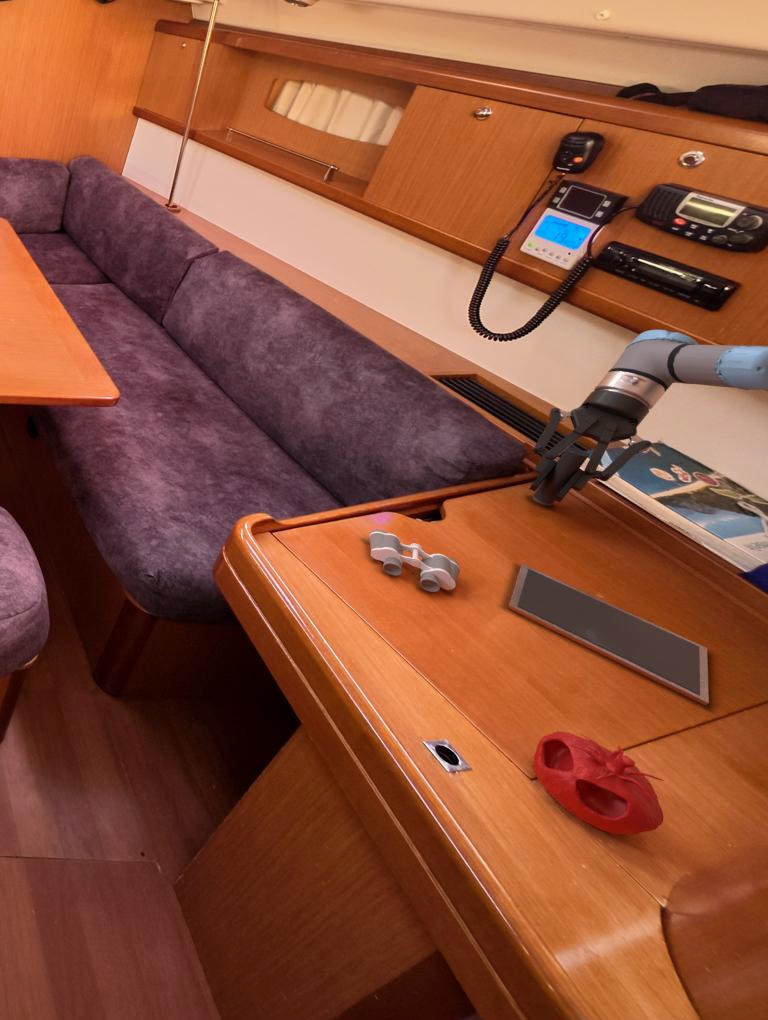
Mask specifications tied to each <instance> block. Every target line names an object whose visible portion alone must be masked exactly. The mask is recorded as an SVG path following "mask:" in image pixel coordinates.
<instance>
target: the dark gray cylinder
mask: <svg viewBox="0 0 768 1020" xmlns="http://www.w3.org/2000/svg"><path fill="white" fill-rule="evenodd" d="M589 456H590V455H589V453H588V452H586V451H585V450H583V449H580V448H577V447H573V446H570V447H568V448H567V449H566V450H565V451H564V452H563V453H562V454H561V455H560V456H559V459H558V460H557V461H558V462H557V463H556V464H555V466H554V467H553V469H552V470H551V471H550V473H549V474H548V476H547V477H546V478H545V479H544V481H543V482H542V483H541V484H540V486H539V487H538V488H537V489H536V491H534V493H533V496H532V500H533V501H535V502H536V503H538V504H540V505H543V506H546V507H551V506H552V505H553V504H555V502H556V501H555V498H556V496H557V495H558V494H559V493H560V491H561V490H562V489H563V488H564V486H565V485H566V484H567V483H568V481H569V480H570V479H571V478H572V476H573V475H574V474H575V473H576V471H577V470H580V468H581V467H582V465H583V464H584V463H585V462H586V460H587V459H588V458H589Z"/></svg>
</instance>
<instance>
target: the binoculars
mask: <svg viewBox="0 0 768 1020" xmlns="http://www.w3.org/2000/svg"><path fill="white" fill-rule="evenodd" d="M368 539H369V546H370V556H371V557H372V559H374V560H376V561H381V562H383V565H382V568H383V570H384V572H385V573H386V574H388V575H391V576H397V577H398V576H400V575H401V574H402V573H403V567H402V566H403V563H406V564H409V565H411V566H412V567H415V568H418V569H420V574H419V576H420V580H419V585H420V587H421V588H422V589H423V590H425V591H426V592H429V593H431V592H432V593H436V592H439V591H440V590H441V589H443V590H446V591H452V590H453V589H455V588H456V586H457V585H456V584H457V581H458V578H459V575H460V572H461V568H460V567H461V566H460V564H459V562H458V561H457V560H455V559H453V558H452V557H448V556H446V555H445V554H443V553H433V554H428V553H427V552H425V551H424V550H423V547H422V546H421V544H419V543H414V542H413V543H410V545H409V544H404V543H402V542H401V540H400V537H398V535H396V534H393V533H389V532H387V531H385V530H383V529H374V530H371V531H370V532H369V536H368ZM404 551H405V552H408V553H410V554H412V556H405V555H404V554H403V553H404ZM419 558H421V559H419Z"/></svg>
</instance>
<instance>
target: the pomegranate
mask: <svg viewBox="0 0 768 1020" xmlns="http://www.w3.org/2000/svg"><path fill="white" fill-rule="evenodd" d="M581 736H582V737H581ZM532 769H533V772H534V774H535V777H536V779H537V780H538V782H539V784H540V785H542V786H543V788H544V789H545V790H546V791H547V793H548V794H550V796H551V797H552V798H554V799H555V800H556V801H557V802H558V803H559V804H560V805H561V806H562V807H563V808H564V809H565V810H567V811H568V812H570V813H571V814H572V815H573V816H574V817H576V818H577V819H579V820H580V821H582V822H585V823H586V824H588V825H591V826H593V827H595V828H596V829H598V830H601V831H603V832H607V833H609V834H614V835H639V834H641V833H647V832H651V831H654V830H657V829H658V828H659V826H661V825H662V824H663V822H664V812H663V809H662V807H661V805H660V802H659V798H658V796H657V793H656V792H655V789H654V787H653V785H652V783H651V782H650V781H649V779H648V778H647V777H649V778H652V779H655V780H658V781H662V782H663V781H665V779H662V778H658V777H656V776H654V775H652V774H649V773H645V772H641V770H639V768H638V767H637V766H636V761H635V760H633V759H632V758H630V757H629V756H628V755H627V754H626V755H624V750H623V749H622V748H621V746H620V745H618V747H617V750H615V751H612V750H611V749H608V748H606V747H604V746H602V745H600V744H599V743H597V742H596V741H595V740H594V739H592V738H590V737H588V736H586V735H584V734H582V733H580V736H578V735H577V734H574V733H571V732H566V731H559V730H558V731H556V732H551V733H549V734H546V735H544V736H542V737H541V739H540V740H539V742H538V744H537V745H536V748H535V752H534V756H533V763H532Z"/></svg>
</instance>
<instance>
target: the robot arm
mask: <svg viewBox="0 0 768 1020" xmlns="http://www.w3.org/2000/svg"><path fill="white" fill-rule="evenodd" d="M676 383H677V384H683V385H684V384H685V385H700V386H709V387H720V388H730V389H731V388H732V389H739V390H744V391H751V390H752V391H768V345H727V344H726V345H723V344H699V343H698V342H697V340H695V339H694V338H692V337H691V336H688V335H686V334H683V333H680V332H677V331H676V332H675V331H674V332H672V331H669V330H666V329H651V330H646V331H643V332H641V333H639V334H638V335H637V336H636V337H635V339H633V340H632V341H631V342H630V343H629V344H628V345H627V346H626V347H625V348H624V351H622V354H621V355H620V356H619V358H618V359H617V361H616V362H615V363H614V364H613V366H612V367H611V368H610V369H609V370H608V371H607V372H606V373H605V375H604V376H603V377H602V378H601V380H600V381H599V382H598V383H597V384H596V386H594V388H593V391H591V392H590V393H589V395H588V396H586V398H585V400H584V401H583V402H582V403H581V404H580V406H578V407H577V408H574V409H572V410H561V409H560V408H557V407H552V408H551V409H550V411H549V414H548V418H549V421H548V423H547V425H546V427H545V428H544V430H543V431H542V433H541V435H540V437H539V439H538V440H537V442H536V444H535V445H534V447H533V450H532V452H533V454H534V455H537V456H538V457H540V458H541V459H540V461H539V462H537V464H536V466H535V467H534V469H533V473H535V474H537V475H538V476H537V477H536V479H535V480H534V481H533V482H532V484H531V485H530V487H529V490H531V491H532V492H536V491H537V489H538V488H539V486H540V485H541V484H542V482H543V481H544V479H545V478H546V477H547V476H548V474H549V473H550V471H551V470H552V469H553V467H554V466H555V464H556V463H557V462H558V460H556V459H557V458H558V457H560V456H561V455H562V454H563V453H564V452H565V450H566V449H567V448H568V447H572V446H573V445H574V444H575V443H576V442H577V441H579V440H580V439H581V438H583V437H584V438H587V439H592V440H593V441H595V442H597V443H596V445H595V447H594V449H593V452H592V454H591V456H590V458H589V460H588V462H587V463H586V466H585V468H584V470H583V471H582V470H580V469H579V470H577V471H576V473H575V474H574V475H573V476H572V478H571V479H570V480H569V481H568V483H567V484H566V485H565V486H564V488H563V489H562V490H561V491H560V493H559V494H558V495H557V496H556V498H555V502H558V503H561V502H562V500H563V499H564V498H565V497H566V496H567V494H568V493H569V492H570V491H571V489H573V490H575V491H577V492H579V491H582V490H583V489H584V488H585V486H586V485H587V484H588V483H589V482H590V480H600V481H601V482H607V481H609V480H610V479H611V478H612V477H613V476H614V475H616V473H617V472H618V471H620V470H621V469H622V468H623V467H624V466H625V465H627V463H628V462H629V461H630V460H632V459H633V458H634V457H635V456H636V455H638V454H641V453H643V452H646V451H648V450H649V449H650V447H652V444H653V442H651V441H650V440H647V439H643V438H642V437H640V436H639V435H638V426H640V424H641V423H642V422H643V421H644V419H645V418H646V417H647V416H648V414H649V413H650V410H652V409H653V408H654V407H655V406H656V405H657V403H658V402H659V401H660V399H661V398H662V397H663V396H664V394H665V393H666V391H668V389H669V388H670V387H671V386H672V385H673V384H676ZM568 418H570V421H571V423H572V426H573V429H572V430H571V432H570V433H567V435H566V436H565V437H563V438H562V439H561V440H560V441H559V442H558V443H556V444H555V445H554V446H553V447H551V448H550V449H549V450H548V449H546V447H547V445H548V444H549V443H550V440H551V439H552V437H553V435H554V433H555V431H556V429H557V428H558V426H559V424H560V422H561V423H563V422H565V421H566V419H568ZM625 440H629V441H628V443H627V448H625V450H624V451H622V453H620V454H619V455H618V456H617V457H616V458H615V459H614V460H613V461H611V463H609V464H608V466H606V467H605V468H604V469H603V470H597V469H598V467H599V465H600V463H601V461H602V459H603V457H604V455H605V453H606V451H607V449H608V447H609V445H610V444H611V443H615V442H620V441H625Z"/></svg>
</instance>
